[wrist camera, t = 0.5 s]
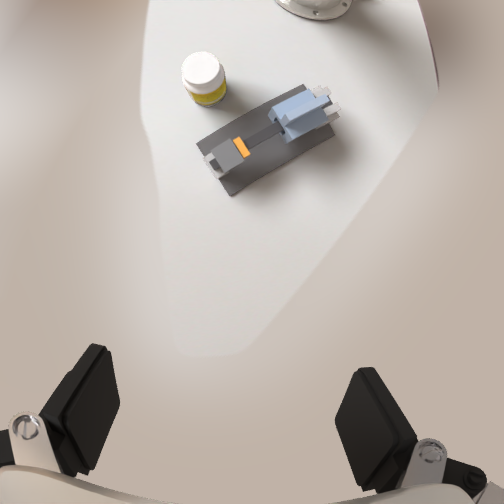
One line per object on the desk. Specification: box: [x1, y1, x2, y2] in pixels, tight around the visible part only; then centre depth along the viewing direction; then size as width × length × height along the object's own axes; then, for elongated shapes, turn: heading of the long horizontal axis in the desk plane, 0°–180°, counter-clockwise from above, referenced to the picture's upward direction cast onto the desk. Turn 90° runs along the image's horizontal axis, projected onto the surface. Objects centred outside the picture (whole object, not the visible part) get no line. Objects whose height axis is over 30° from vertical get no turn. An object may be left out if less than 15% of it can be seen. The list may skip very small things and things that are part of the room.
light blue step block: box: [268, 89, 330, 144], centre depth 27 cm, size 5×4×7 cm
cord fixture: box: [196, 84, 341, 196], centre depth 31 cm, size 16×8×7 cm, turn 121°
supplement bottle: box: [182, 52, 226, 106], centre depth 28 cm, size 5×5×8 cm
